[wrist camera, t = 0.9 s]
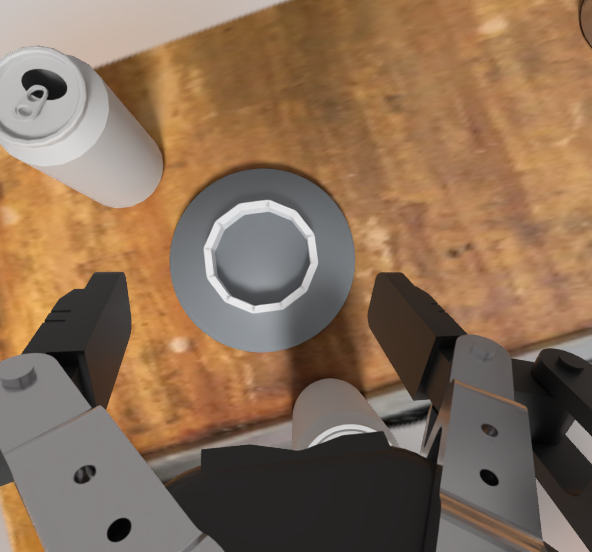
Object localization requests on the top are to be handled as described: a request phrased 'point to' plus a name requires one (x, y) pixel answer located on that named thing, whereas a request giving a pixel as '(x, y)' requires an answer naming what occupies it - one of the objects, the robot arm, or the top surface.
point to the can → (75, 128)
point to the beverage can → (333, 414)
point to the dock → (262, 260)
